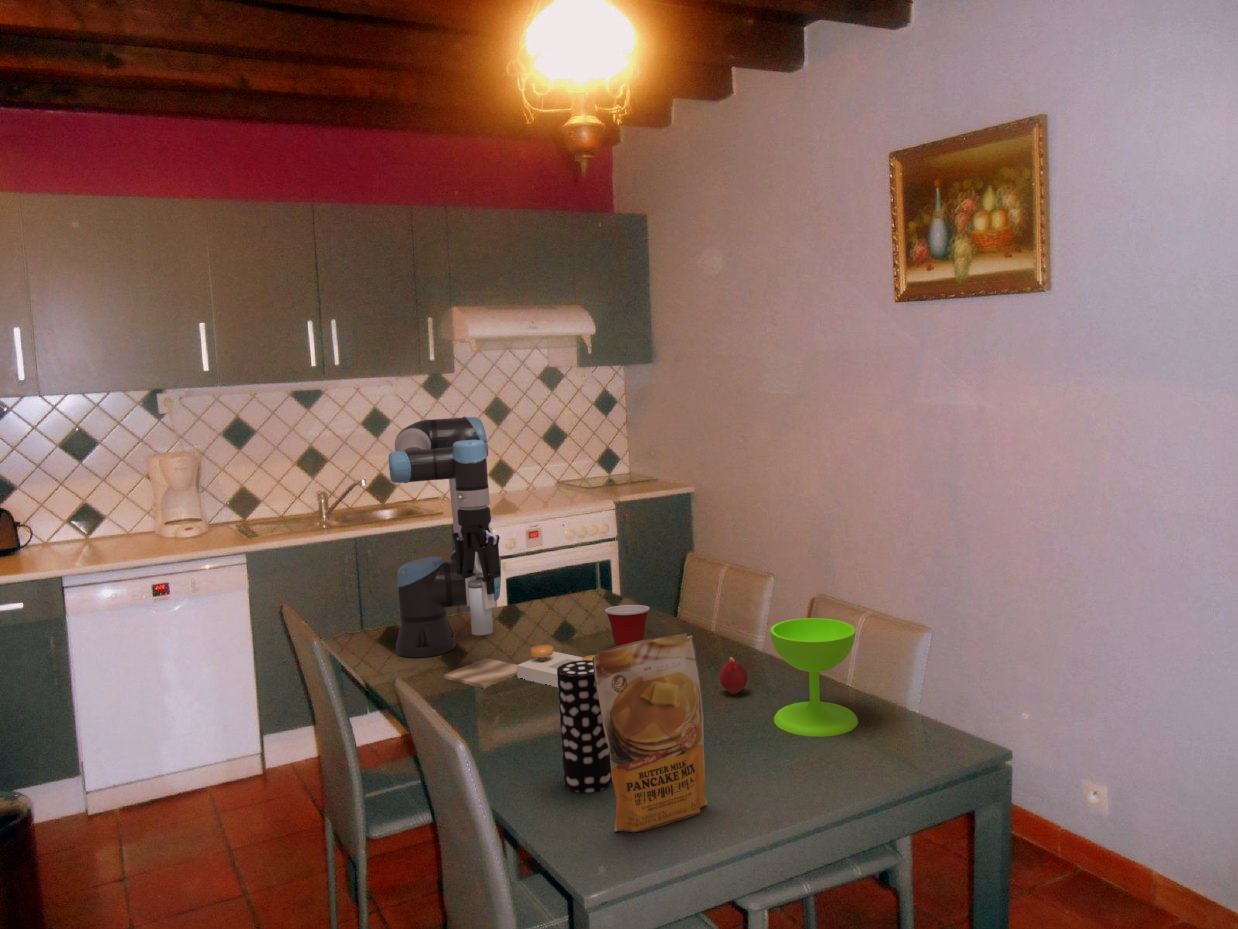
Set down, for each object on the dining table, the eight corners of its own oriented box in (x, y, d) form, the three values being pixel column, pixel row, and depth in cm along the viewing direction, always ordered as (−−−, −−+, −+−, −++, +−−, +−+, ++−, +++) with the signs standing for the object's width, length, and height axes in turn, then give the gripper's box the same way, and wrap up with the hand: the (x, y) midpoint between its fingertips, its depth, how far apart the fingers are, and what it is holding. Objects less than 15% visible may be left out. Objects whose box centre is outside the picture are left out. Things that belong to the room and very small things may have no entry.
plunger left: (527, 667, 218) (525, 649, 217) (542, 661, 222) (541, 643, 221) (543, 671, 214) (542, 652, 214) (558, 665, 218) (557, 646, 218)
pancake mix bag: (593, 823, 145) (583, 647, 142) (700, 793, 153) (691, 626, 150) (612, 842, 139) (601, 659, 136) (721, 809, 147) (713, 636, 144)
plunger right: (578, 679, 208) (577, 659, 207) (593, 672, 212) (592, 653, 211) (596, 683, 204) (595, 663, 204) (611, 676, 208) (610, 657, 208)
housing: (517, 678, 215) (516, 665, 215) (553, 663, 224) (552, 651, 224) (586, 694, 202) (585, 680, 202) (620, 678, 211) (620, 665, 211)
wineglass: (809, 743, 170) (805, 647, 168) (757, 716, 184) (753, 627, 182) (876, 724, 177) (873, 631, 175) (821, 699, 191) (818, 613, 189)
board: (443, 678, 218) (442, 674, 218) (487, 661, 229) (487, 658, 229) (484, 688, 209) (483, 685, 209) (528, 670, 220) (527, 667, 220)
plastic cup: (653, 648, 232) (650, 600, 231) (650, 661, 221) (648, 612, 220) (610, 649, 233) (607, 602, 232) (605, 663, 222) (602, 613, 221)
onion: (751, 691, 198) (749, 654, 197) (743, 700, 193) (741, 663, 192) (725, 688, 201) (723, 652, 200) (716, 697, 196) (714, 660, 195)
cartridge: (467, 633, 217) (463, 583, 216) (483, 628, 221) (479, 578, 220) (481, 636, 214) (478, 585, 213) (497, 630, 218) (494, 580, 217)
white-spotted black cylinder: (563, 773, 163) (556, 662, 161) (611, 769, 164) (604, 658, 162) (564, 795, 155) (557, 678, 153) (614, 790, 156) (607, 674, 153)
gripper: (435, 507, 218) (442, 605, 220) (488, 511, 206) (495, 614, 209) (459, 503, 223) (466, 598, 226) (512, 506, 212) (519, 607, 214)
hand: (480, 606), depth 217 cm, fingers closed on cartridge, 5 cm apart
